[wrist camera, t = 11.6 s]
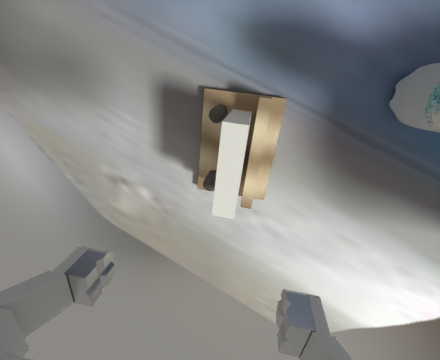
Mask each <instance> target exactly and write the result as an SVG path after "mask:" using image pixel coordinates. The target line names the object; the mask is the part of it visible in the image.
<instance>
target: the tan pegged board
mask: <svg viewBox="0 0 440 360" xmlns="http://www.w3.org/2000/svg"><path fill="white" fill-rule="evenodd" d="M285 104H286V98H280V97H272V96H264V95H256V94H248V93H240V92H233V91H225V90H217V89H209V88H204V102H203V116H202V130H201V144H200V158H199V172H198V186H197V188H198V189H203V190H208V191H214V190H215V181H216V172H217V163H218V154H219V145H220V136H221V127H222V121H223V120H224V119H225V118H226V117H227V115H228V114H229V113H230V112H231V111H232V110H233V109H235V110H243V111H250V112H252V116H251V122H250V128H249V134H248V140H247V146H246V152H245V158H244V164H243V170H242V176H241V182H240V188H239V193H238V196H242V200H241V207H244V208H250V209H251V205H252V200H253V198H255V199H261V200H264V197H265V193H266V188H267V184H268V179H269V175H270V170H271V166H272V161H273V157H274V153H275V148H276V144H277V139H278V135H279V130H280V126H281V121H282V117H283V113H284V108H285Z"/></svg>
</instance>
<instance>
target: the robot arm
mask: <svg viewBox="0 0 440 360" xmlns="http://www.w3.org/2000/svg"><path fill="white" fill-rule="evenodd" d="M112 259H113V253H111V252H107V251H103V250H99V249H95V248H90V247H86V246H80V247H78V248H77V249H76V250H75V251H74V252H73V253H71V254H70V255H69V256H68V257H67V258H66V259H65V260H64V261H63V262H62V263H61V264H60V265H58V266H57V268H55V269H54V270H53V271H47V272H45V273H43V274H40V275H38V276H36V277H34V278H31V279H29V280H27V281H24V282H22V283H20V284H17V285H15V286H13V287H10V288H8V289H6V290H3V291H1V292H0V360H33V359H29V358H26V357H23V356H24V355H25V353H26V352H27V351H28V350H29V345H28V343H27V341H26V339H25V337H26V336H27V335H29V334H30V333H31V332H33V331H34V330H36V329H38V328H39V327H41V326H42V325H44V324H45V323H47V322H48V321H50V320H51V319H53V318H54V317H56V316H57V315H58V314H60V313H62V312H63V311H65V310H66V309H67V308H69V307H71V306H72V305H74V303H77V304H82V305H87V306H93V305H94V303H95V302H96V301H97V299H98V298H99V296H100V295H101V294H102V288H104V287H105V286H107V285H108V284H109V283H110V281H111V280H112V277H113V275H114V272H115V265H114V264H113V263H112V262H111V261H112ZM276 322H277V326H278V327H279V332H278V334H277V337H278V351H279V352H280V353H284V354H287V355H291V356H295V357H298V358H300V360H353V359H352V357H351V356H350V355H349V354H348V352H346V350H345V349H344V347H343V346H342V345H341V344H340V343H339V341H338V340H337V339H336V338H335V337H334V336H331V334H330V331H329V327H328V324H327V320H326V317H325V313H324V310H323V306H322V302H321V299H320V297H319V296H315V295H310V294H306V293H301V292H296V291H291V290H286V289H283V291H282V293H281V300H280V301H279V302H278V305H277V312H276Z"/></svg>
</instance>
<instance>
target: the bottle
mask: <svg viewBox="0 0 440 360" xmlns="http://www.w3.org/2000/svg"><path fill="white" fill-rule="evenodd" d="M395 88H396V91H395V94H394V97H393V99H392V100H391V101H390V108H391V109H392V111H393V112H394V114H395V115H396V117H397V119H398V120H399V121H400V122H401V123H403V124H405V125H408V126H411V127H414V128H418V129H422V130H428V131H433V132H438V133H440V63H434V64H429V65H425V66H422V67H419V68H417V69H416V70H415V71H414V72H413V73H411V74H410V75H408V76H407V77H405V78H404V79H402V80H400V81H399V82H398V83H397V85H396V86H395Z"/></svg>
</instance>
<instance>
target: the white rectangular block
mask: <svg viewBox="0 0 440 360" xmlns="http://www.w3.org/2000/svg"><path fill="white" fill-rule="evenodd" d="M251 116H252V112H250V111H243V110H235V109H233V110H232V111H231V112H230V113H229V114H228V115H227V117H226V118H225V119H224V120H223V121H222V127H221V136H220V145H219V154H218V163H217V172H216V181H215V190H214V199H213V208H212V215H214V216H220V217H225V218H231V219H234V215H235V209H236V204H237V198H238V193H239V188H240V182H241V176H242V170H243V164H244V158H245V152H246V146H247V140H248V134H249V128H250V122H251Z"/></svg>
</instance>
